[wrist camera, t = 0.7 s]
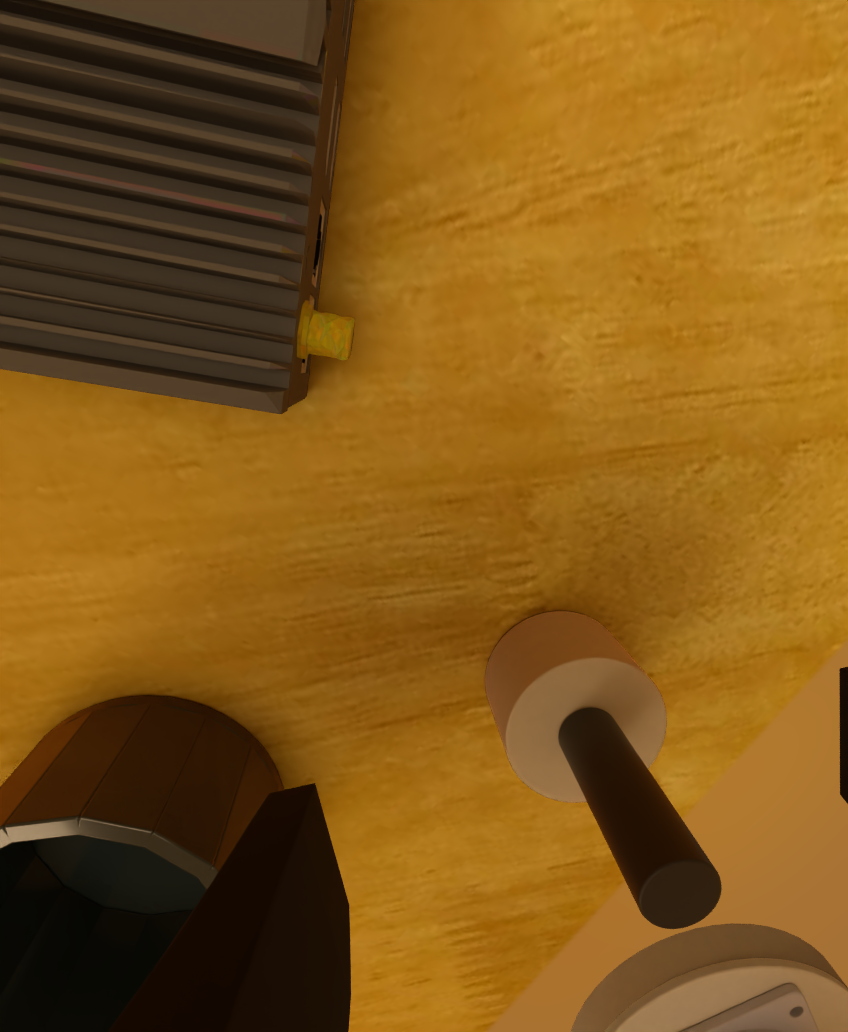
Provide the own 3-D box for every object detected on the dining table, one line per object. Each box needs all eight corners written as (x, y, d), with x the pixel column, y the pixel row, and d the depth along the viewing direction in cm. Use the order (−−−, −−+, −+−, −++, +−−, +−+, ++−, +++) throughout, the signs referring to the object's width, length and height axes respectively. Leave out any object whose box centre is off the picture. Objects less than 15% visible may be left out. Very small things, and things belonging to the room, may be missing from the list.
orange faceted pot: (331, 844, 20) (317, 1002, 15) (119, 947, 20) (38, 1135, 15) (198, 650, 18) (131, 761, 13) (-37, 769, 18) (-188, 920, 13)
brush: (642, 698, 19) (823, 925, 12) (519, 758, 19) (616, 1021, 12) (591, 586, 18) (754, 754, 10) (461, 650, 18) (526, 863, 11)
